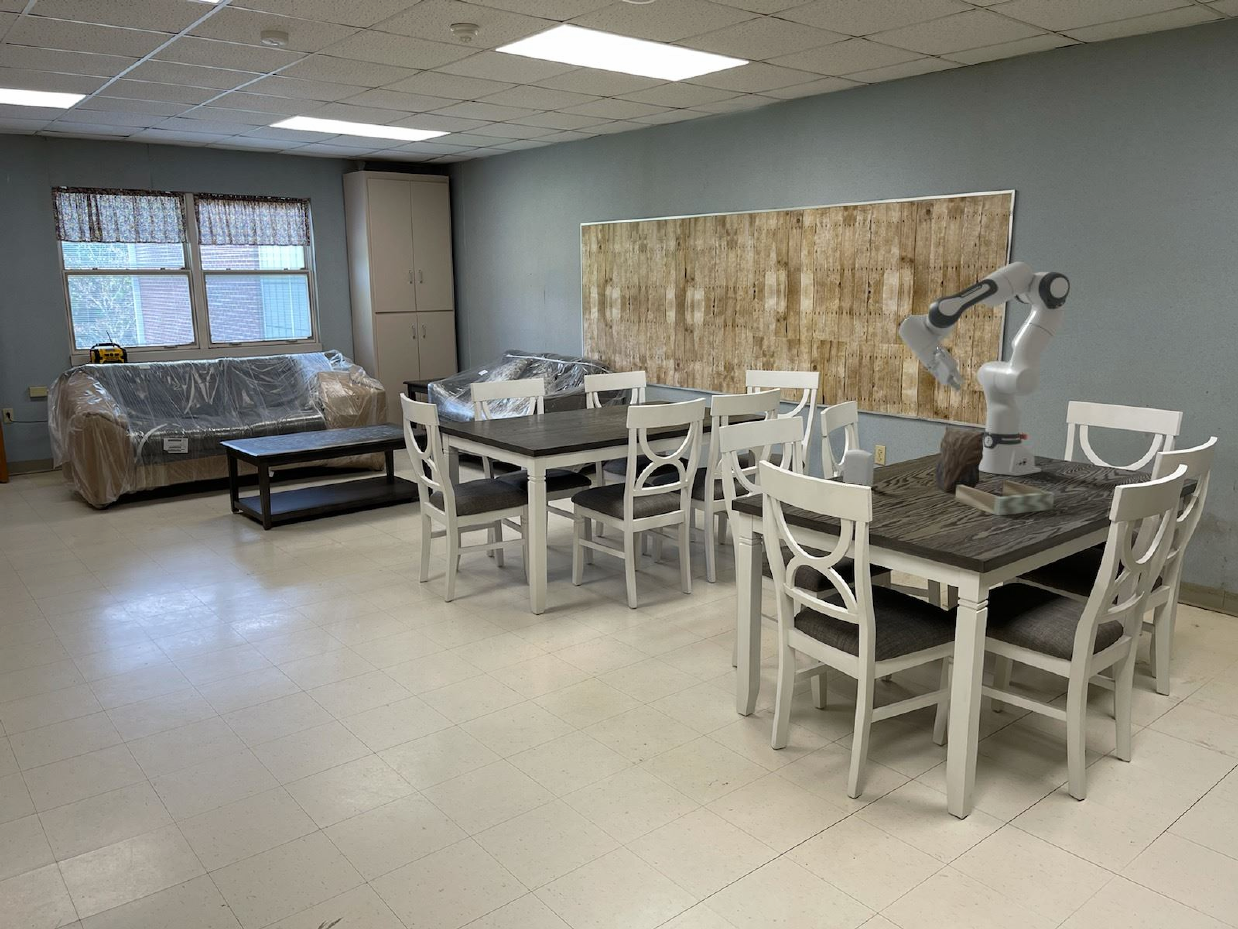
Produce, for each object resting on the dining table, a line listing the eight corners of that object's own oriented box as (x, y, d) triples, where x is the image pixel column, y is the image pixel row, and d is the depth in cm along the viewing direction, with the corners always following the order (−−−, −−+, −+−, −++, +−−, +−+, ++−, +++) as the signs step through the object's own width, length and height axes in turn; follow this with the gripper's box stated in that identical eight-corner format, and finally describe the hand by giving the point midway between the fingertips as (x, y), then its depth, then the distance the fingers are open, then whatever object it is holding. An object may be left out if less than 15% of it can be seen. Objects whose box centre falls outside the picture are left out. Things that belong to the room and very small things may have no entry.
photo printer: (840, 484, 299) (843, 448, 296) (848, 482, 301) (851, 446, 299) (866, 490, 291) (869, 453, 288) (874, 488, 294) (877, 451, 291)
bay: (1006, 495, 287) (1008, 480, 286) (1052, 509, 270) (1054, 493, 269) (955, 500, 279) (956, 485, 278) (998, 515, 263) (1000, 498, 262)
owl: (932, 483, 302) (937, 425, 298) (970, 484, 301) (976, 426, 297) (943, 492, 290) (948, 431, 285) (983, 493, 289) (989, 432, 285)
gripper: (944, 339, 295) (971, 371, 291) (939, 359, 314) (965, 388, 310) (928, 351, 296) (955, 382, 291) (924, 370, 315) (950, 399, 311)
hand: (960, 386), depth 301 cm, fingers open, 8 cm apart
